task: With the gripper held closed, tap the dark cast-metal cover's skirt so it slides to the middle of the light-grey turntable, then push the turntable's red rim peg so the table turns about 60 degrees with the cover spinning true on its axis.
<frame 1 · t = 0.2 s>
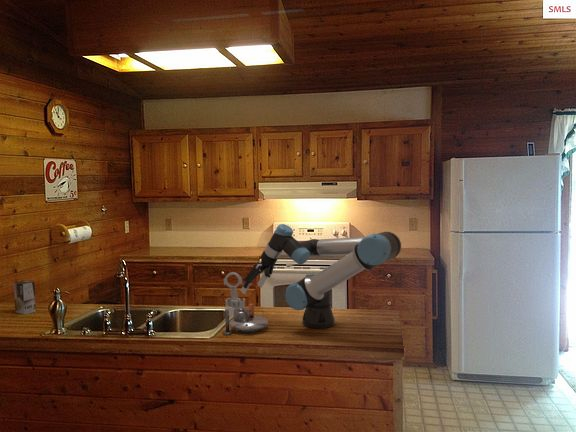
hand: (251, 289, 225), 16 cm above the table, tool tilted 35°, fingers open, 13 cm apart
dial stand: (227, 333, 207), on the table
coffee box: (25, 312, 249), on the table
engine component: (234, 312, 245), on the table
turntable base: (249, 329, 213), on the table
cover: (241, 319, 216), point 4 cm above the table, touching turntable
turntable: (248, 316, 213), point 6 cm above the table, hinge at 0.0°, touching cover
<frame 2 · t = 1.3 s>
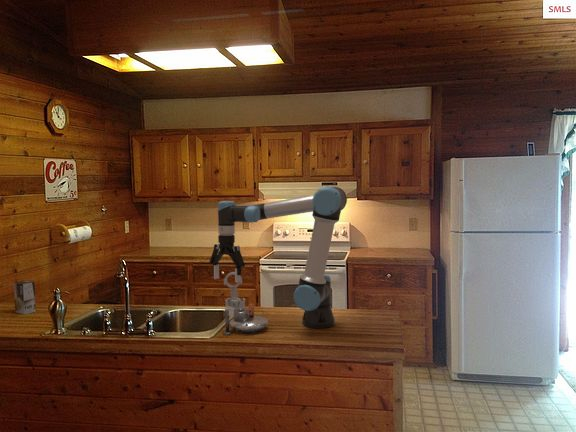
hand: (227, 280, 220), 21 cm above the table, tool pointing down, fingers open, 12 cm apart
nothing on the table moved.
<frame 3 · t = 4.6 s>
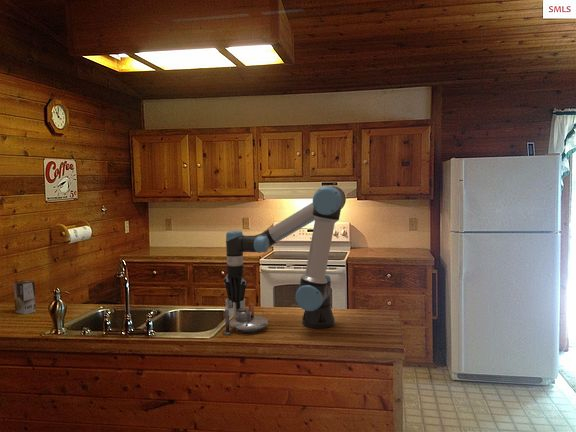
hand: (236, 315, 217), 5 cm above the table, tool pointing down, fingers closed
cover: (243, 319, 215), point 4 cm above the table, touching gripper
turntable: (248, 316, 213), point 6 cm above the table, hinge at 0.0°
everything else where it was.
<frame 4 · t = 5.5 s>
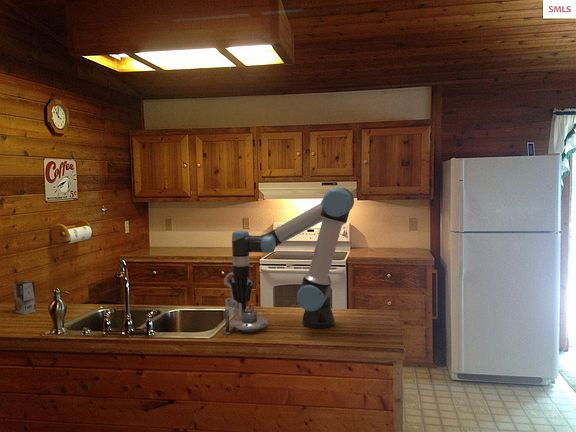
hand: (242, 316, 215), 5 cm above the table, tool pointing down, fingers closed
cover: (249, 320, 213), point 4 cm above the table, touching gripper, turntable
turntable: (248, 316, 213), point 6 cm above the table, hinge at 0.0°, touching cover
everything else where it was.
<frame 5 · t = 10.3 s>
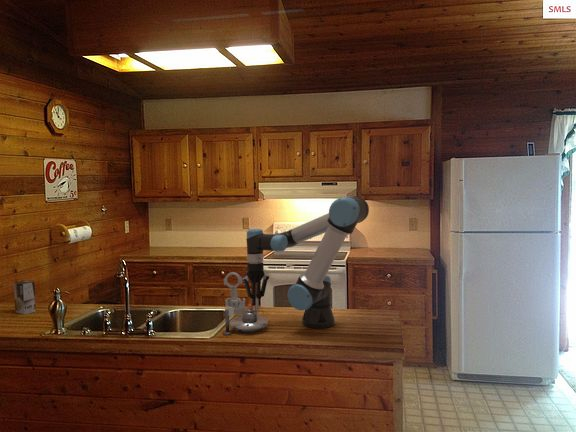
hand: (256, 311, 222), 6 cm above the table, tool pointing down, fingers closed
cover: (249, 320, 213), point 4 cm above the table, touching turntable
turntable: (248, 316, 213), point 6 cm above the table, hinge at 3.9°, touching cover, gripper
everything else where it was.
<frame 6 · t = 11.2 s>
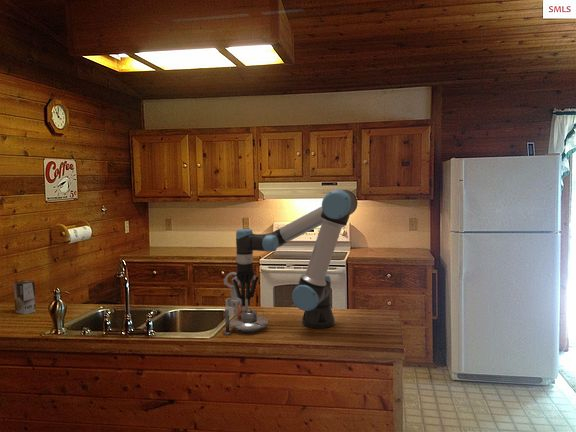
hand: (245, 312, 220), 6 cm above the table, tool pointing down, fingers closed
turntable: (248, 316, 213), point 6 cm above the table, hinge at 45.7°, touching cover, gripper
everything else where it was.
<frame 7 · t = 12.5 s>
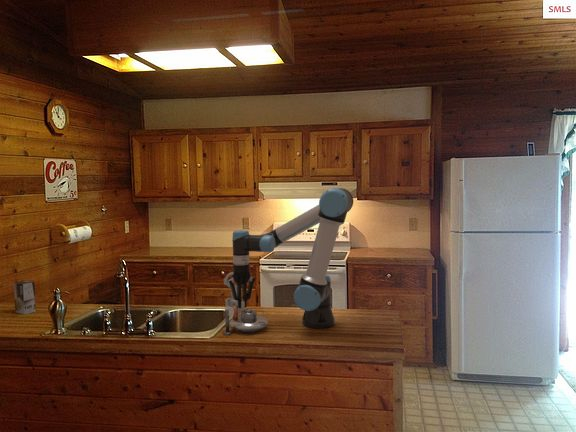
hand: (242, 314, 218), 5 cm above the table, tool pointing down, fingers closed
turntable: (248, 316, 213), point 6 cm above the table, hinge at 70.4°, touching cover
everything else where it was.
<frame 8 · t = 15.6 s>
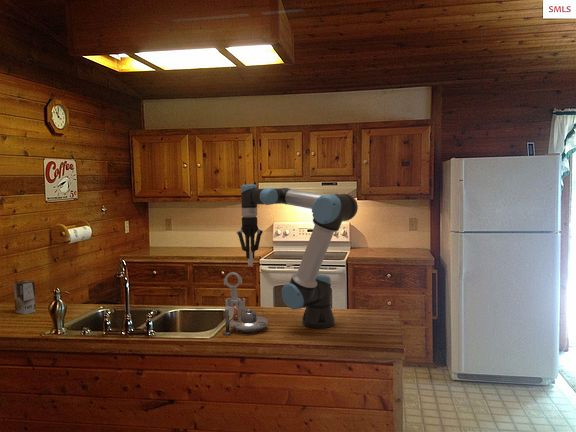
hand: (250, 265, 229), 26 cm above the table, tool pointing down, fingers closed
nothing on the table moved.
at the end: cover 0.3 cm from the turntable (horizontally); turntable at +70° (first picture: +0°); cover tilted 0° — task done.
